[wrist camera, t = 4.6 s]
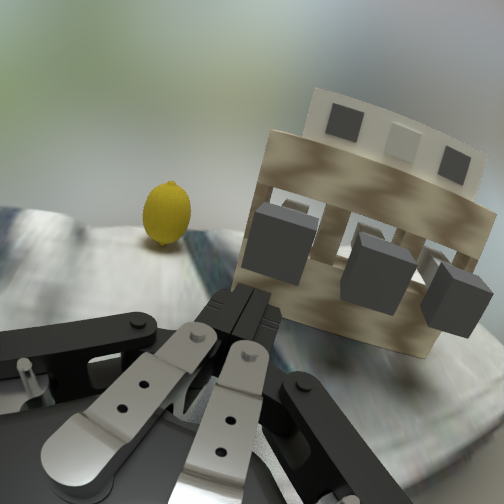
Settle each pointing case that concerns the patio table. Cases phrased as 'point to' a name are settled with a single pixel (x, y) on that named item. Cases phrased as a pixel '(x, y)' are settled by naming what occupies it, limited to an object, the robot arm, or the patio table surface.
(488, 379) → the patio table surface
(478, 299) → the button right
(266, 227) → the button left
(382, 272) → the button mid
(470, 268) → the board
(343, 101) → the card
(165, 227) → the lemon
